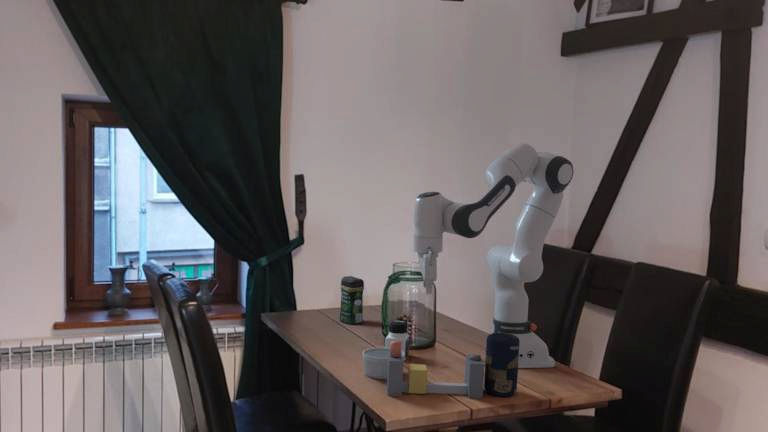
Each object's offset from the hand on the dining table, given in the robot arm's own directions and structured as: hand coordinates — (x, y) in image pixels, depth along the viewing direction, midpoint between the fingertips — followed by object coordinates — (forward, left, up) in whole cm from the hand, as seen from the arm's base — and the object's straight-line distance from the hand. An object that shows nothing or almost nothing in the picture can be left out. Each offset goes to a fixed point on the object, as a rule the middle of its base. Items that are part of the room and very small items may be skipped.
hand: (427, 290), depth 216 cm
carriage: (+3, +13, -27) cm, 30 cm away
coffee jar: (+25, -70, -27) cm, 79 cm away
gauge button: (+10, +13, -17) cm, 23 cm away
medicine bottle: (+8, -22, -27) cm, 36 cm away
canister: (-21, +12, -27) cm, 37 cm away
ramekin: (+13, -2, -28) cm, 30 cm away
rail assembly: (-2, +13, -27) cm, 30 cm away
